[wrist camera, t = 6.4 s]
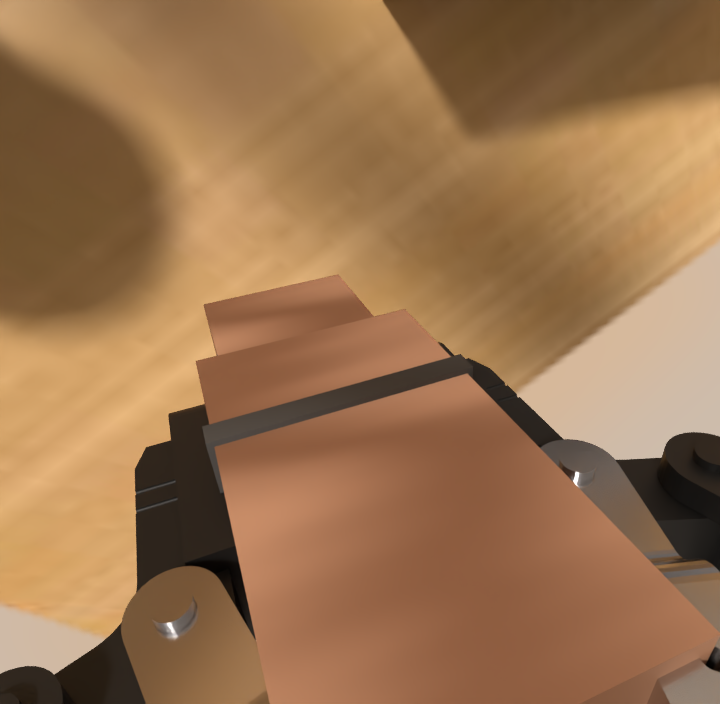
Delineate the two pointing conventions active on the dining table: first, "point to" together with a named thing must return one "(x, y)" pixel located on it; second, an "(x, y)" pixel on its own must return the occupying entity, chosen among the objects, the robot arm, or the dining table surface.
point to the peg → (415, 523)
